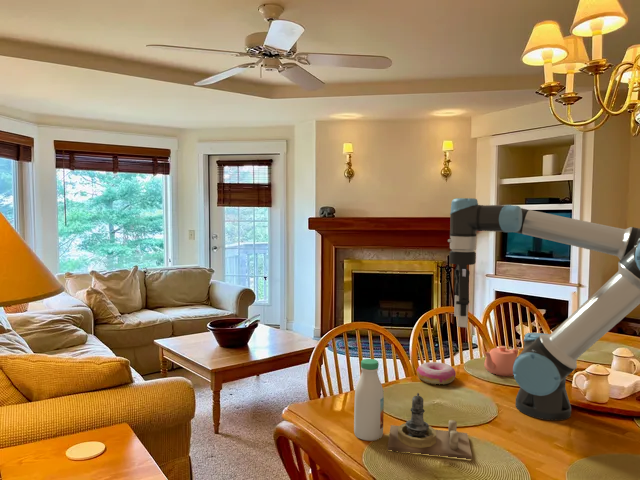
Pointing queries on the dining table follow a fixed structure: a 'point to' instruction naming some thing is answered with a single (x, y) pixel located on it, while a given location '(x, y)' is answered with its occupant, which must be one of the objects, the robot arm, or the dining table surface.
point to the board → (436, 447)
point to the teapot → (500, 361)
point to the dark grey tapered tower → (417, 419)
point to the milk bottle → (369, 403)
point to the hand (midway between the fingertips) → (460, 321)
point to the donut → (436, 373)
